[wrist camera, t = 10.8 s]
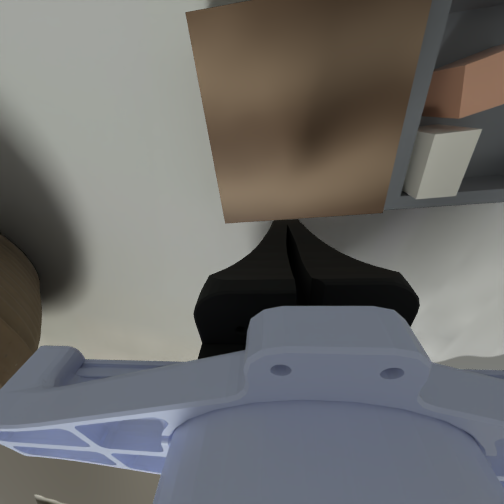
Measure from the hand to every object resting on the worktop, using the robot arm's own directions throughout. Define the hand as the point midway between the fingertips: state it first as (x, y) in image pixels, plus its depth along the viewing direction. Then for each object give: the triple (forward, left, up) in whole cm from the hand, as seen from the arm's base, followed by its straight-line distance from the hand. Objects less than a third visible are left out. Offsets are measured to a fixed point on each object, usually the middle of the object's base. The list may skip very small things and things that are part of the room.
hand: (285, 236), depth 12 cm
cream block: (+2, -9, -7) cm, 12 cm away
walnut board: (+4, -1, -9) cm, 10 cm away
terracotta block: (+7, -11, -7) cm, 15 cm away
